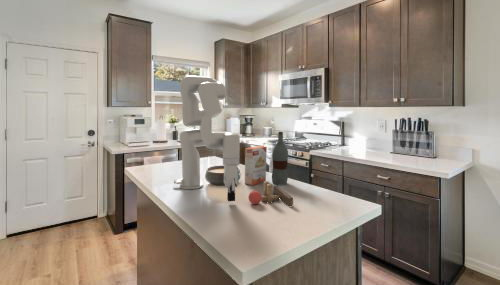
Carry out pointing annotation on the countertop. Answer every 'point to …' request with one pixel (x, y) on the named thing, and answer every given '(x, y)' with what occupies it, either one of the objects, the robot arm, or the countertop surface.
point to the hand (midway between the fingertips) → (231, 200)
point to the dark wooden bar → (283, 195)
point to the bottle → (280, 162)
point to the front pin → (274, 197)
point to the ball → (255, 197)
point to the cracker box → (255, 165)
